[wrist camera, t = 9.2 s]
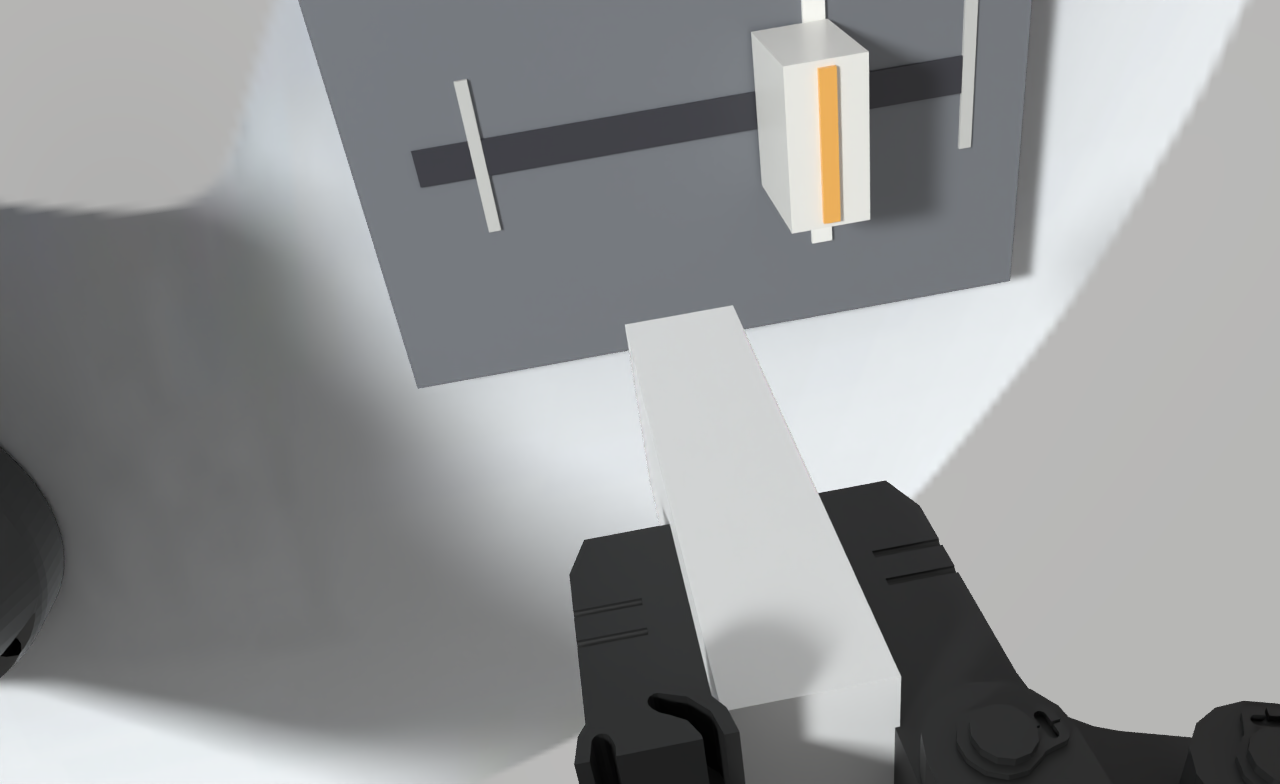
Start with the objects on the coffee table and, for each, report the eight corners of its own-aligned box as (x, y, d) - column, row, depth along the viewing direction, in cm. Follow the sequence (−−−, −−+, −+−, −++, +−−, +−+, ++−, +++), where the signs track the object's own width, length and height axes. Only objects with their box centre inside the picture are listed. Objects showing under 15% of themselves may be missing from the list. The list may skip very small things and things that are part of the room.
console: (420, 360, 38) (417, 390, 36) (281, -105, 29) (267, -95, 27) (987, 257, 39) (1011, 282, 37) (1018, -227, 30) (1051, -224, 28)
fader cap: (762, 185, 33) (793, 235, 30) (750, 31, 31) (784, 68, 27) (832, 172, 34) (872, 221, 30) (827, 18, 31) (870, 53, 27)
